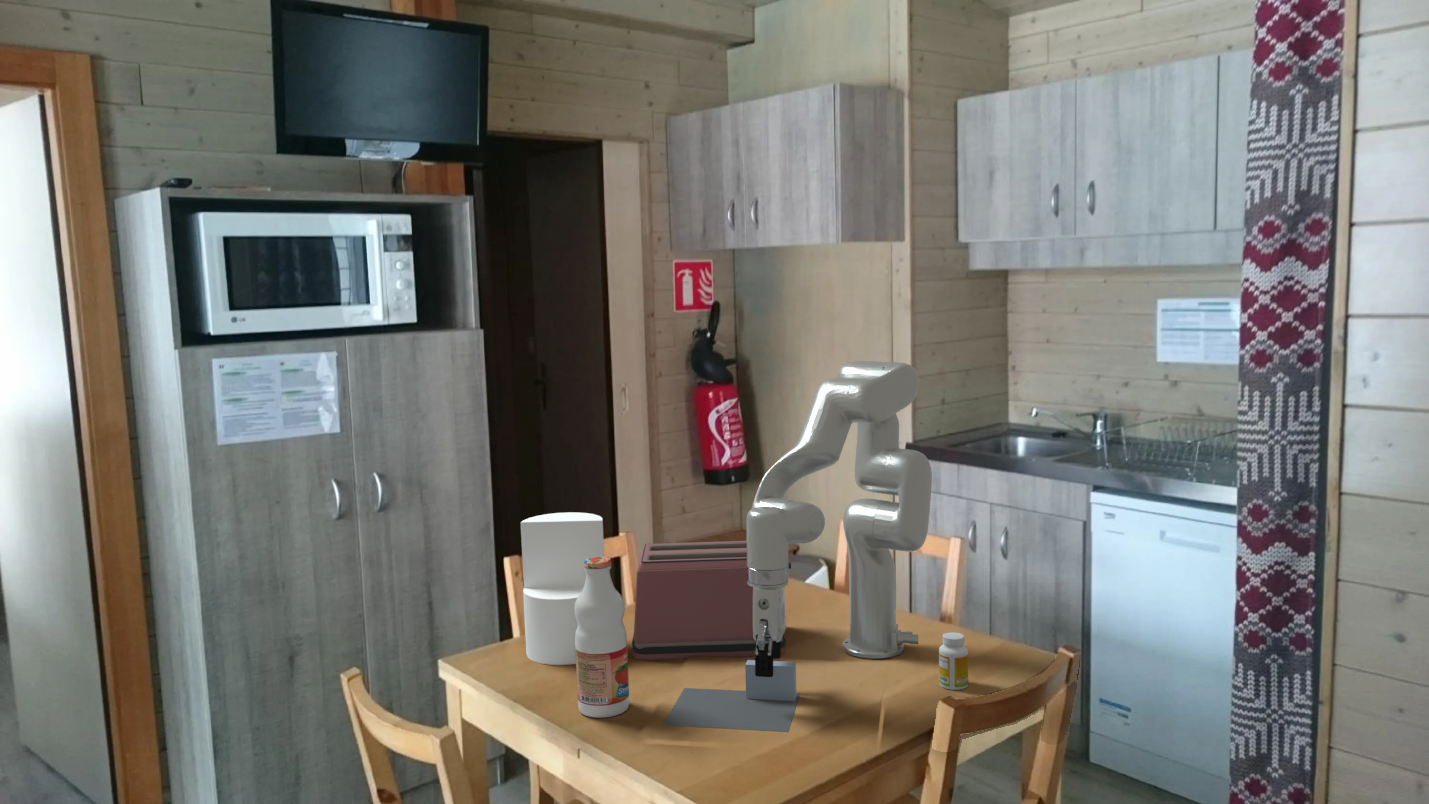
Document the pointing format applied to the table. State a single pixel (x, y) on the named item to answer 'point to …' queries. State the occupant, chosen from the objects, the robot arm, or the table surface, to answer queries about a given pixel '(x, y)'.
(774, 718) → the mat
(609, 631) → the fruit juice
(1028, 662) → the table surface
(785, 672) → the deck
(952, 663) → the supplement bottle
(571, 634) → the cylinder
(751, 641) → the toaster
